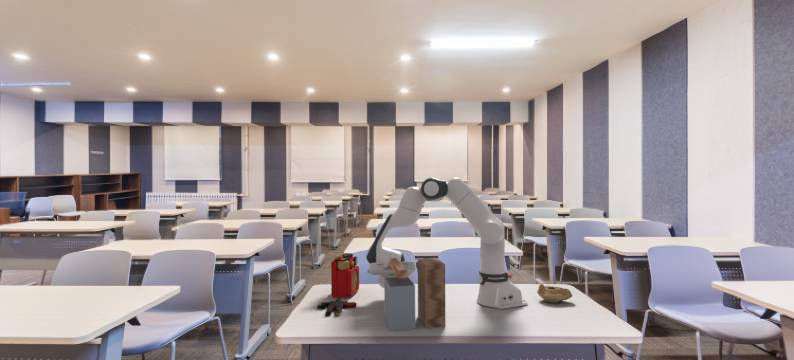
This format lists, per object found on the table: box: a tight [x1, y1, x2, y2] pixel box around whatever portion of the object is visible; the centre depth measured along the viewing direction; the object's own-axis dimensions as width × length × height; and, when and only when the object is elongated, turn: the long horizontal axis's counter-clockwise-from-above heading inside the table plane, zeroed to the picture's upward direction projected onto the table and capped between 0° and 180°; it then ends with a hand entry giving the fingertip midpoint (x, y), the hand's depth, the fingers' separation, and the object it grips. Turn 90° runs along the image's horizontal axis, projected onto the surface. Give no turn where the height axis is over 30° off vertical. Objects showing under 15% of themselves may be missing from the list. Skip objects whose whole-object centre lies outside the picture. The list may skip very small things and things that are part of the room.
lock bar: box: [389, 258, 407, 278], centre depth 150 cm, size 3×22×3 cm, turn 10°
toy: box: [316, 297, 357, 317], centre depth 164 cm, size 15×16×3 cm
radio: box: [330, 253, 360, 299], centre depth 187 cm, size 16×10×20 cm, turn 168°
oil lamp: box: [536, 283, 573, 304], centre depth 173 cm, size 11×15×8 cm
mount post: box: [417, 257, 447, 329], centre depth 149 cm, size 8×12×24 cm, turn 10°
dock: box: [383, 277, 416, 332], centre depth 147 cm, size 10×12×17 cm
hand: (394, 262), depth 157 cm, fingers closed on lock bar, 3 cm apart
